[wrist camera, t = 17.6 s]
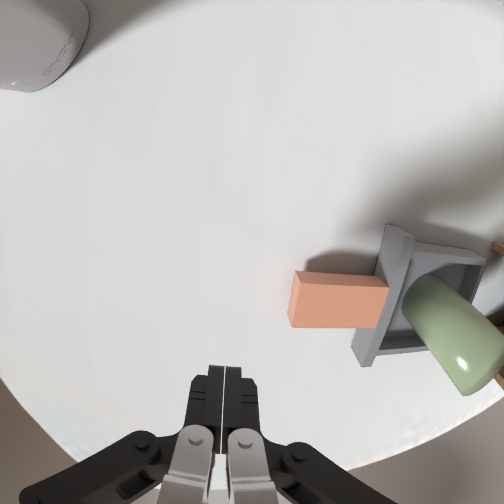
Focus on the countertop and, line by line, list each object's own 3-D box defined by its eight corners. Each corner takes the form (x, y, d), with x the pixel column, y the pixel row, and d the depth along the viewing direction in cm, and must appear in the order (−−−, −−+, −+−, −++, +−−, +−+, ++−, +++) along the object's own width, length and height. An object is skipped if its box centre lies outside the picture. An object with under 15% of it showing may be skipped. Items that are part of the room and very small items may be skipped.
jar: (392, 305, 22) (452, 386, 13) (430, 263, 21) (506, 328, 12) (416, 329, 24) (468, 402, 14) (451, 292, 22) (514, 354, 13)
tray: (278, 346, 24) (282, 369, 21) (301, 213, 20) (312, 224, 17) (435, 340, 26) (448, 356, 23) (472, 238, 22) (491, 249, 19)
